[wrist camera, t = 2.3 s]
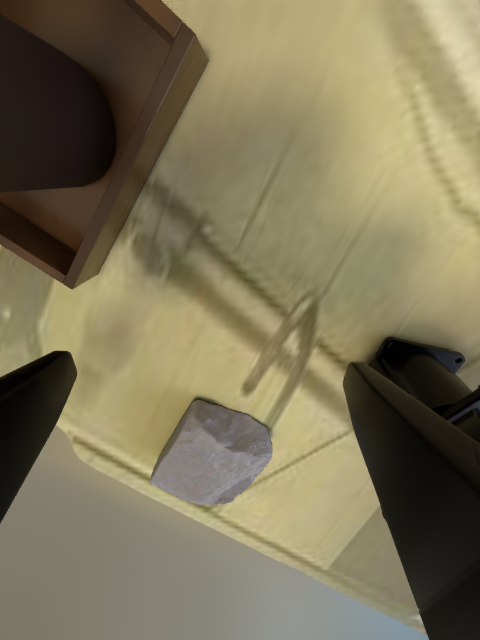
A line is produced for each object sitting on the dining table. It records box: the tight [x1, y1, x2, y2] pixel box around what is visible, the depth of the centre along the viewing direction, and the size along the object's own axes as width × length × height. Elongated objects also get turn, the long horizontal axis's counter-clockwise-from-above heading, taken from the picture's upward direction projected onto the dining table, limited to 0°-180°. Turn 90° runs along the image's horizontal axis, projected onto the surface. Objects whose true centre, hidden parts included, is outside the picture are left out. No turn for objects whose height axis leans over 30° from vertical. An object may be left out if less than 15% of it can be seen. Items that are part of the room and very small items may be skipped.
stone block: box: [149, 400, 272, 506], centre depth 28 cm, size 12×5×10 cm
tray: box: [0, 0, 208, 289], centre depth 15 cm, size 11×15×3 cm
